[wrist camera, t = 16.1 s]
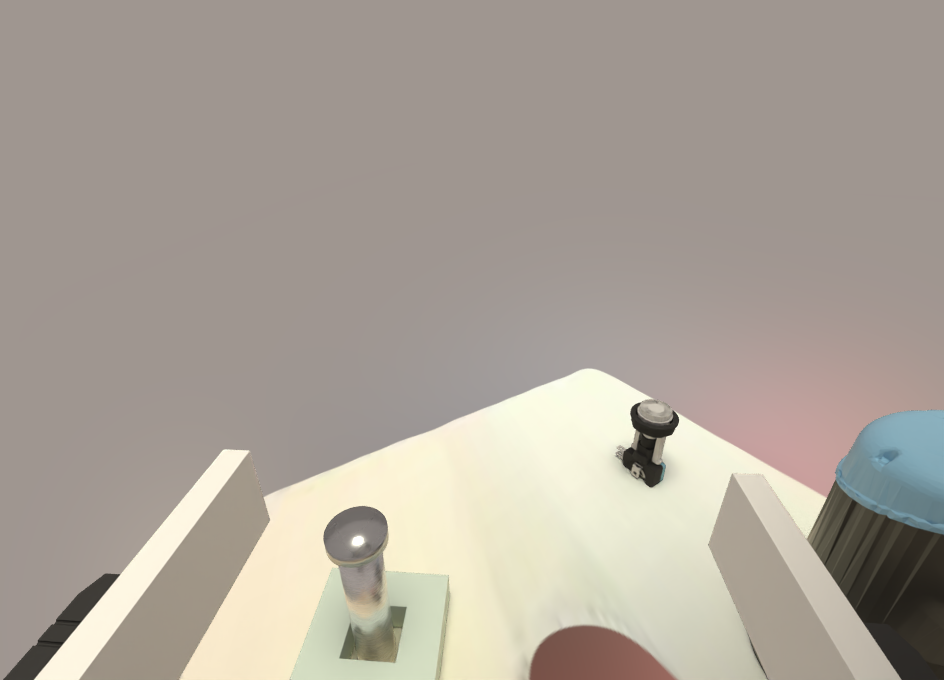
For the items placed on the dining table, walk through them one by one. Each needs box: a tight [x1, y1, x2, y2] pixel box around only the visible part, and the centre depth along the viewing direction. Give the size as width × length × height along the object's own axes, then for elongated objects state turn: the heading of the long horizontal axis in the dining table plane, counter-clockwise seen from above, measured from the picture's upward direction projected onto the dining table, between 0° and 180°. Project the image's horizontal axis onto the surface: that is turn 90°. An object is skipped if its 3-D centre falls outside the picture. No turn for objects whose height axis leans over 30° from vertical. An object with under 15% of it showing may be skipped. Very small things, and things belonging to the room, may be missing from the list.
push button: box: [616, 399, 679, 487], centre depth 57 cm, size 7×5×10 cm
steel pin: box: [324, 506, 396, 663], centre depth 36 cm, size 4×4×15 cm
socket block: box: [290, 568, 450, 680], centre depth 39 cm, size 11×11×3 cm
